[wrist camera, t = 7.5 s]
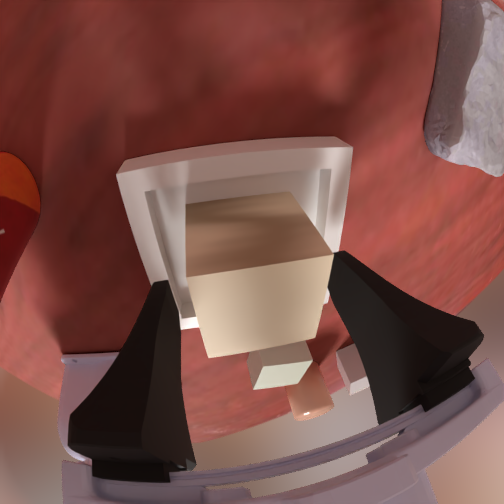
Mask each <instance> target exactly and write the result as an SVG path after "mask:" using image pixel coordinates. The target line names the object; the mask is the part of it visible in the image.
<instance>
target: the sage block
mask: <svg viewBox="0 0 504 504" xmlns="http://www.w3.org/2000/svg"><path fill="white" fill-rule="evenodd" d="M312 361H313V359H312V356H311V354H310V351H309V348H308V346H307V343H306V341H305V340H304V341H299V342H295V343H290V344H286V345H281V346H276V347H271V348H266V349H261V350H255V351H250V353H249V356H248V359H247V365H248V370H249V374H250V378H251V383H252V387H253V390H254V389H263V388H271V387H279V386H286V385H292V384H298V382H299V381H300V379H301V378H302V376H303V375H304V373H305V372H306V370H307V369H308V367H309V366H310V364H311V363H312Z"/></svg>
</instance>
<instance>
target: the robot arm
mask: <svg viewBox="0 0 504 504" xmlns="http://www.w3.org/2000/svg"><path fill="white" fill-rule="evenodd" d="M333 254H334V257H333V262H332V267H331V272H330V277H329V281H328V286H327V288H328V291H329V293H330V296H331V298H332V301H333V304H334V306H335V308H336V309H337V311H338V313H339V315H340V317H341V319H342V321H343V322H344V324H345V326H346V328H347V330H348V332H349V334H350V336H351V337H352V339H353V341H354V343H355V346H356V348H357V350H358V353H359V355H360V358H361V361H362V363H363V366H364V369H365V372H366V375H367V379H368V382H369V385H370V389H371V392H372V396H373V400H374V405H375V410H376V415H377V420H378V424H379V425H378V426H376V427H374V428H372V429H369V430H367V431H364V432H362V433H359V434H357V435H354V436H352V437H349V438H346V439H343V440H341V441H338V442H335V443H332V444H329V445H326V446H323V447H320V448H316V449H313V450H310V451H307V452H303V453H299V454H295V455H291V456H287V457H283V458H279V459H274V460H270V461H265V462H260V463H255V464H249V465H243V466H237V467H230V468H222V469H214V470H202V471H191V470H193V469H194V467H195V466H196V460H195V457H194V453H193V448H192V444H191V440H190V435H189V430H188V425H187V420H186V414H185V408H184V401H183V394H182V386H181V328H180V318H179V311H178V308H177V305H176V302H175V299H174V296H173V293H172V290H171V287H170V284H169V281H168V280H163V281H156V282H154V283H153V284H152V287H151V289H150V292H149V294H148V296H147V299H146V301H145V303H144V306H143V308H142V310H141V312H140V314H139V317H138V319H137V321H136V323H135V325H134V327H133V329H132V331H131V333H130V335H129V336H128V338H127V340H126V342H125V344H124V346H123V347H122V349H121V351H120V352H112V353H96V354H70V355H62V357H61V360H62V362H63V363H64V364H65V369H64V375H63V381H62V387H61V394H60V401H59V410H58V421H57V424H58V431H59V436H60V440H61V442H62V444H63V447H64V448H65V450H66V451H67V452H68V453H69V454H70V455H71V456H72V457H74V458H76V459H78V460H81V461H83V462H81V461H77V462H71V461H66V460H63V461H62V491H63V504H438V502H437V499H436V497H435V494H434V491H433V489H432V486H431V484H430V481H429V479H428V476H427V473H426V471H425V469H426V468H427V467H429V466H430V465H431V464H433V463H434V462H436V461H437V460H438V459H439V458H441V457H442V456H444V455H445V454H446V453H447V452H449V451H450V450H451V449H452V448H454V447H455V446H456V445H457V444H458V443H459V442H461V441H462V440H463V439H464V438H465V437H466V436H468V435H469V434H470V433H471V432H472V431H473V430H474V429H475V428H476V427H477V426H478V425H480V424H481V423H482V422H483V421H484V420H485V419H486V418H487V417H488V416H489V415H490V414H491V413H492V412H493V411H494V410H495V409H496V408H497V407H498V406H499V405H500V404H501V403H502V402H503V401H504V383H503V382H502V380H501V378H500V376H499V375H498V373H497V371H496V370H495V368H494V366H493V365H492V363H491V361H490V360H489V358H487V359H485V360H484V361H483V362H481V363H480V364H479V365H478V366H476V367H475V368H473V369H472V370H470V369H469V367H468V366H470V365H471V362H470V361H469V359H468V358H469V357H470V356H471V354H472V353H473V352H474V351H475V350H476V349H477V347H478V346H479V345H480V344H481V342H482V340H483V338H484V335H483V333H482V332H481V330H480V329H479V327H478V326H477V324H476V323H475V322H474V321H470V320H467V319H463V318H460V317H457V316H454V315H451V314H448V313H446V312H443V311H441V310H438V309H436V308H434V307H432V306H430V305H427V304H425V303H423V302H421V301H419V300H417V299H416V298H414V297H412V296H410V295H409V294H407V293H405V292H403V291H402V290H400V289H399V288H397V287H396V286H394V285H392V284H391V283H389V282H388V281H386V280H385V279H384V278H382V277H381V276H379V275H378V274H377V273H375V272H374V271H372V270H371V269H370V268H368V267H367V266H366V265H364V264H363V263H361V262H360V261H359V260H357V259H356V258H355V257H353V256H352V255H350V254H349V253H347V252H346V251H339V252H334V253H333ZM397 433H399V434H398V437H396V438H394V439H392V440H390V441H388V442H386V443H384V444H382V445H381V446H380V447H378V448H377V449H375V450H373V451H371V452H369V453H367V455H366V457H367V459H368V464H367V465H365V466H363V467H360V468H358V469H355V470H353V471H350V472H348V473H345V474H342V475H339V476H337V477H334V478H331V479H328V480H325V481H322V482H318V483H315V484H312V485H308V486H305V487H301V488H298V489H294V490H290V491H286V492H282V493H277V494H273V495H268V496H262V497H257V498H252V497H251V493H250V489H248V488H244V487H236V488H225V489H212V490H209V489H208V488H206V487H209V486H219V485H228V484H236V483H243V482H249V481H255V480H260V479H265V478H270V477H275V476H279V475H283V474H288V473H292V472H296V471H300V470H303V469H307V468H310V467H313V466H317V465H320V464H323V463H326V462H329V461H332V460H335V459H338V458H341V457H344V456H346V455H349V454H351V453H354V452H356V451H359V450H361V449H364V448H366V447H369V446H371V445H373V444H376V443H378V442H380V441H382V440H384V439H387V438H389V437H391V436H393V435H395V434H397ZM186 471H188V472H186Z"/></svg>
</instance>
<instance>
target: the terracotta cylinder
mask: <svg viewBox="0 0 504 504" xmlns="http://www.w3.org/2000/svg"><path fill="white" fill-rule="evenodd" d="M285 389H286V393H287V396H288V399H289V402H290V406H291V409H292V412H293V415H294V419H295V420H298V421H301V420H308V419H311V418H315V417H318V416H320V415H323V414H325V413H327V412H328V411H330V410H331V409H332V408H333V407H334V403H333V401H332V398H331V396H330V393H329V391H328V388H327V385H326V383H325V380H324V378H323V375H322V373H321V370H320V368H319V365H318V363H317V362H314V361H312V363H311V364H310V366H309V367H308V369H307V370H306V372H305V373H304V375H303V376H302V378H301V379H300V381H299V382H298V384H292V385H286V386H285Z"/></svg>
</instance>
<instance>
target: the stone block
mask: <svg viewBox="0 0 504 504" xmlns="http://www.w3.org/2000/svg"><path fill="white" fill-rule="evenodd" d="M424 136H425V139H426V140H425V142H426V144H427V146H428V149H429V150H430V151H431V152H432V153H433V154H434V155H437V156H439V157H441V158H443V159H444V160H447V161H450V162H453V163H456V164H459V165H464V164H465V165H468V166H470V167H477V168H480V169H481V170H483V171H484V172H486V173H488V174H491V175H493V176H495V177H499V176H502V174H503V173H504V12H503V11H502V9H500V8H499V7H498V6H497V5H496V4H495V3H493V2H492V1H491V0H442V15H441V28H440V38H439V47H438V54H437V61H436V67H435V72H434V82H433V87H432V91H431V93H430V98H429V103H428V108H427V112H426V117H425V126H424Z"/></svg>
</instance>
